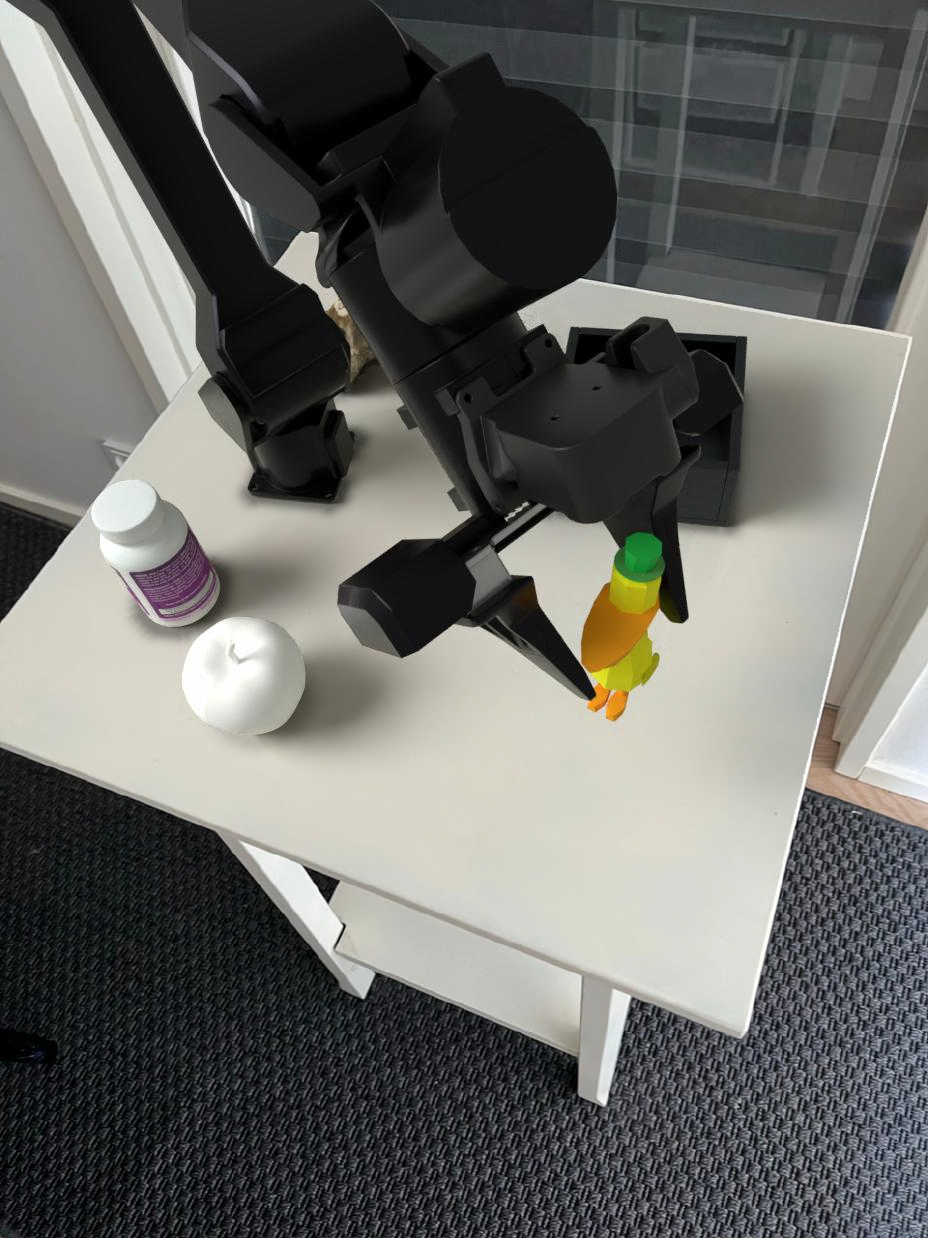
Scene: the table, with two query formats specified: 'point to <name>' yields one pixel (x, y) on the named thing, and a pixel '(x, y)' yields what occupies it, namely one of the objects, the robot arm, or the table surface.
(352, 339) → the brown irregular lump
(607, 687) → the toy figure
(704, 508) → the open black box
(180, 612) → the pill bottle
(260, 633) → the plain white apple
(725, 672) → the table surface
